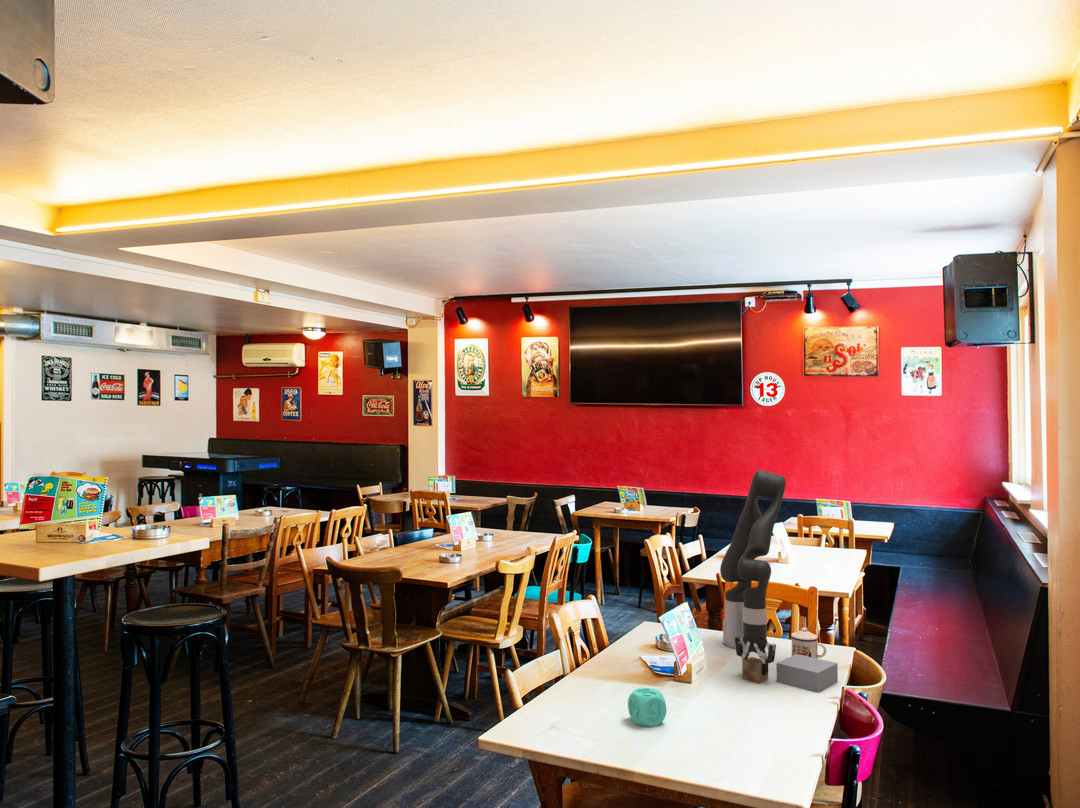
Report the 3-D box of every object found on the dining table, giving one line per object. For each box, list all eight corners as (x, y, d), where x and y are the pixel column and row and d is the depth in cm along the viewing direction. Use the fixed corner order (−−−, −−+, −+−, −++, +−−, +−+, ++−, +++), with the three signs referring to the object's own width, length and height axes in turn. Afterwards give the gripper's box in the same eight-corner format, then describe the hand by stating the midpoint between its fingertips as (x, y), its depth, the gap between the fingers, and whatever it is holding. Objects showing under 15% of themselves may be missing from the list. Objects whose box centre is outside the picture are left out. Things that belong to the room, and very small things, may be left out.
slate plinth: (776, 681, 240) (776, 662, 240) (796, 671, 250) (796, 653, 250) (818, 692, 230) (818, 672, 230) (837, 681, 240) (837, 663, 240)
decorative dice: (652, 714, 211) (652, 686, 212) (666, 724, 204) (666, 695, 204) (627, 718, 209) (627, 689, 209) (641, 728, 201) (641, 698, 201)
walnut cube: (742, 679, 242) (742, 660, 242) (751, 674, 246) (751, 656, 246) (758, 683, 238) (758, 664, 238) (768, 679, 242) (768, 660, 242)
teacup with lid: (787, 662, 260) (787, 628, 261) (796, 656, 267) (795, 623, 268) (822, 668, 253) (821, 634, 253) (830, 662, 260) (829, 629, 260)
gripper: (729, 618, 245) (729, 670, 245) (769, 627, 235) (769, 680, 234) (741, 615, 250) (741, 665, 250) (780, 622, 240) (781, 675, 240)
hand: (755, 672), depth 242 cm, fingers closed on walnut cube, 6 cm apart
